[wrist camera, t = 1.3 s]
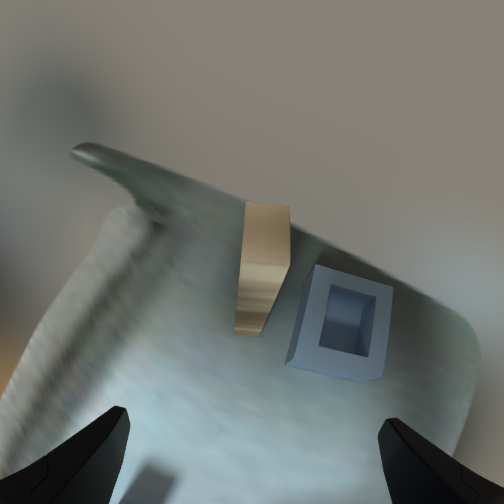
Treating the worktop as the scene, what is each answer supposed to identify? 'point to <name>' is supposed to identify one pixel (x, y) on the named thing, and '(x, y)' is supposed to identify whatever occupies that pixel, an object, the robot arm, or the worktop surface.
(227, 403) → the worktop surface
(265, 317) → the slat
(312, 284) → the blue-grey socket block
